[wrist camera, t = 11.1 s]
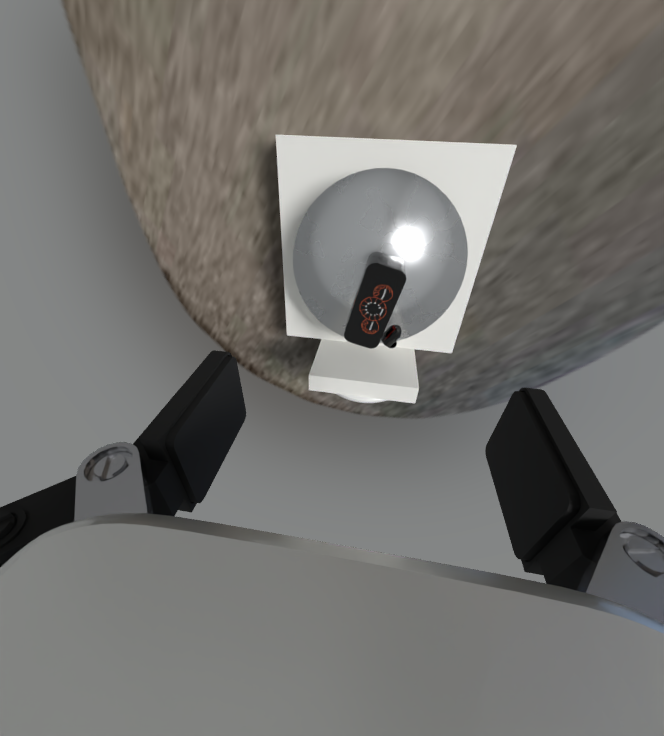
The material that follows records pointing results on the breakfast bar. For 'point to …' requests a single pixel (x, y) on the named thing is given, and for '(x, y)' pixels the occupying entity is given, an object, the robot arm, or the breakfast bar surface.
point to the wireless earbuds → (376, 302)
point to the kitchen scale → (382, 247)
